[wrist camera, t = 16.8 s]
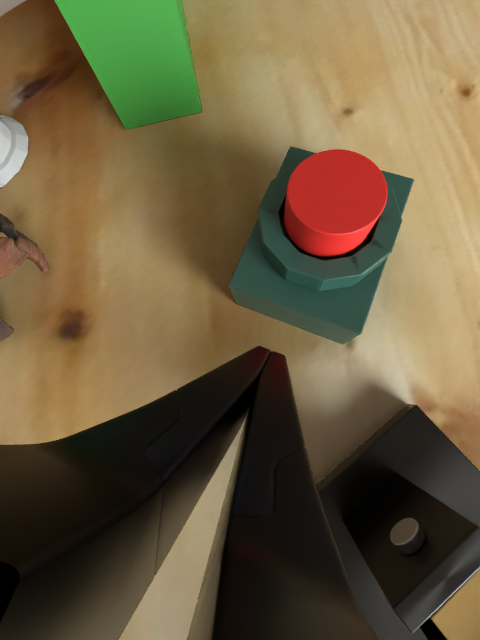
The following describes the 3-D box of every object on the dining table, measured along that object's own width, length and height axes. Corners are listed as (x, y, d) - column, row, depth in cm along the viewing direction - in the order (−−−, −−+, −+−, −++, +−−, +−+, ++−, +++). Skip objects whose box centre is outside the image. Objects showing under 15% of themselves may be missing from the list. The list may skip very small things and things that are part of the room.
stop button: (354, 269, 16) (370, 248, 14) (271, 241, 17) (272, 217, 15) (381, 195, 17) (400, 163, 15) (301, 173, 18) (306, 138, 16)
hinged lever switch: (407, 403, 20) (504, 413, 12) (522, 525, 17) (740, 641, 9) (271, 525, 19) (274, 628, 11) (374, 669, 17) (476, 934, 8)
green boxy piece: (343, 345, 21) (372, 327, 15) (235, 303, 22) (223, 273, 17) (388, 216, 23) (429, 157, 17) (286, 186, 24) (292, 122, 19)
